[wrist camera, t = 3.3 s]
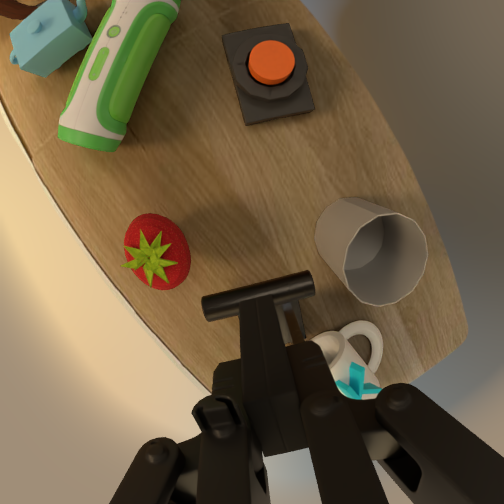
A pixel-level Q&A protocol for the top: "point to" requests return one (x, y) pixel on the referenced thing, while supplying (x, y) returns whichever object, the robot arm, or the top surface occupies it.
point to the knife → (16, 9)
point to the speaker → (115, 72)
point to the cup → (372, 250)
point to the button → (271, 62)
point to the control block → (262, 95)
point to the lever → (258, 294)
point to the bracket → (291, 322)
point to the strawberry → (157, 251)
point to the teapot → (50, 36)
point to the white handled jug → (352, 359)
